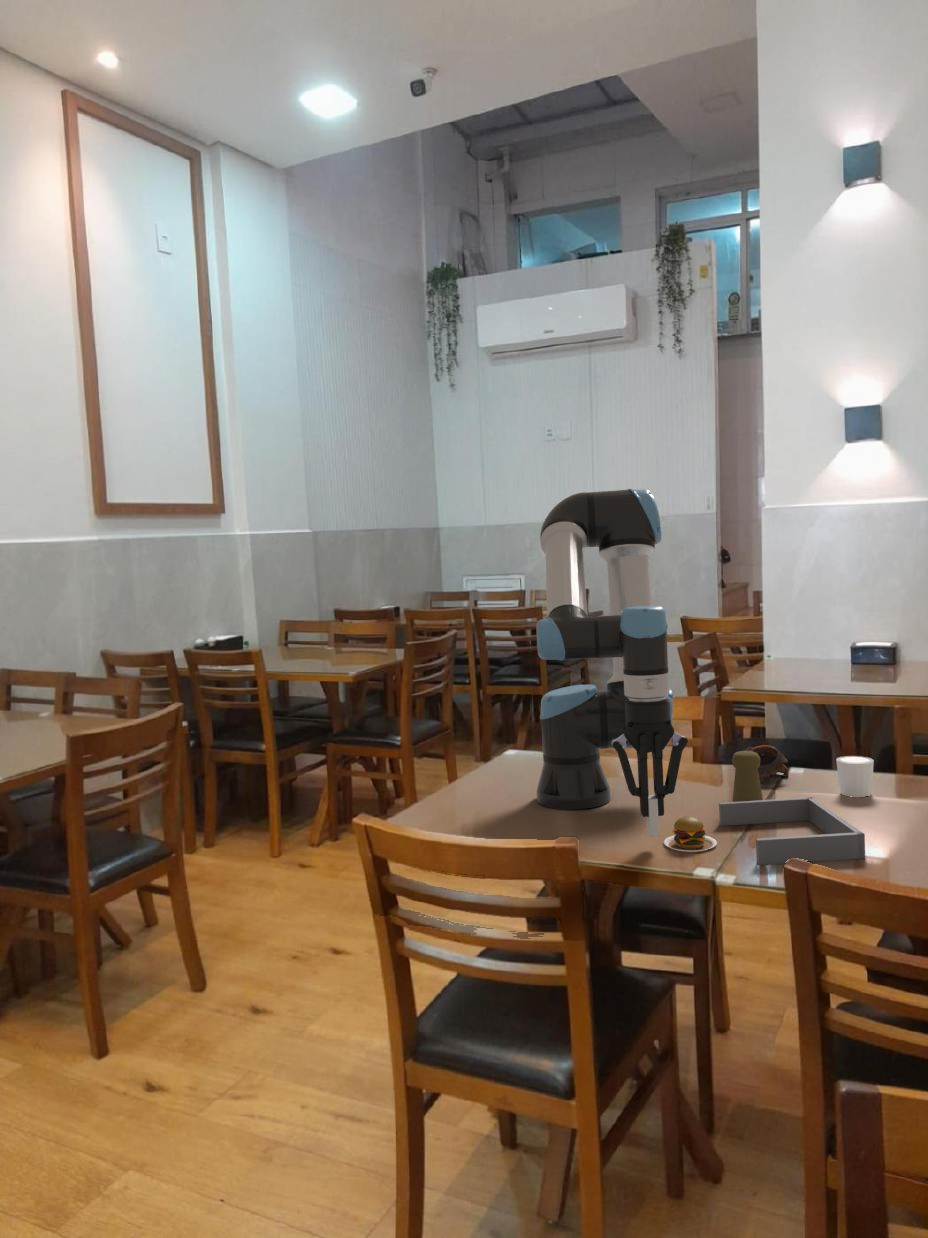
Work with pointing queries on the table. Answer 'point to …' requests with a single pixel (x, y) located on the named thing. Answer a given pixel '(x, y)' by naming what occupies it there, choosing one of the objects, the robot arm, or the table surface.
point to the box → (831, 846)
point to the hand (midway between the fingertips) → (653, 834)
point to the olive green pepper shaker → (746, 776)
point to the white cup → (855, 775)
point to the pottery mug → (770, 761)
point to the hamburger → (689, 835)
